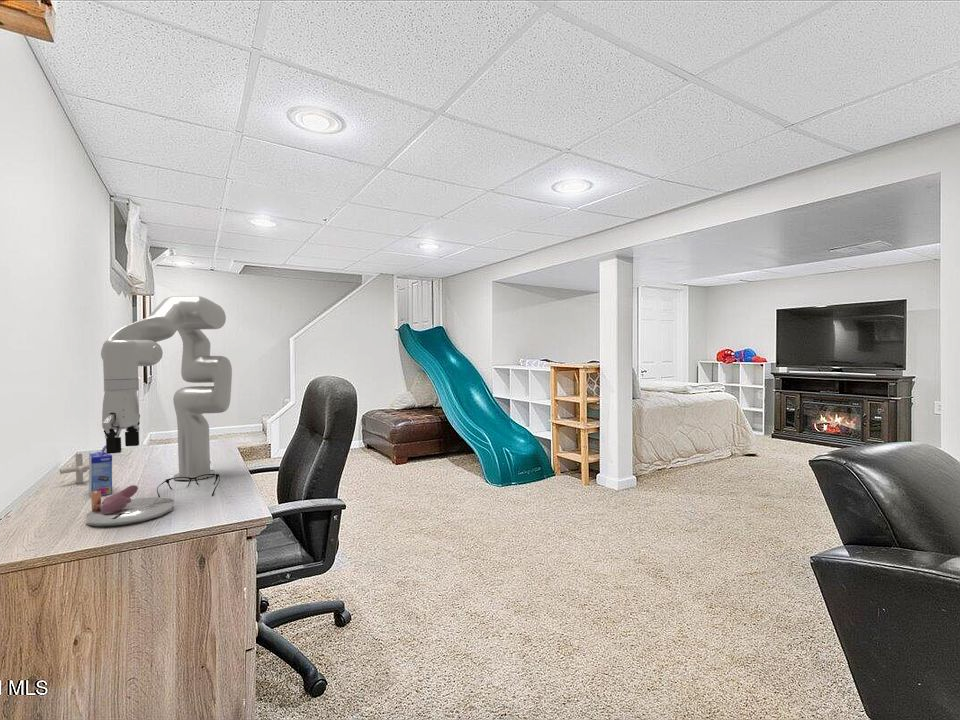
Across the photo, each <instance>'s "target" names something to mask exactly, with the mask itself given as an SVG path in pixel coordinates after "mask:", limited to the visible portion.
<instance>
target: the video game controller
mask: <svg viewBox="0 0 960 720" xmlns="http://www.w3.org/2000/svg"><path fill="white" fill-rule="evenodd" d="M138 490H139V487H138V485H133V484H132V485H129V486H127V487H126V488H124V489H123V490H120V491H118V492H115V493H114V494H113V493H112V494H111V495H109V496H107V497H105V498H104V499H103V500H102V501H101V509H100V510H101V513H102V514H109V513H112V512H115V511H117V510H119V509H123V508H125V507H127V504H128V503H130V502H131V497H132V496H134V495H135V494H136V493H137V491H138Z"/></svg>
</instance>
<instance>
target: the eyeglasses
mask: <svg viewBox="0 0 960 720" xmlns="http://www.w3.org/2000/svg"><path fill="white" fill-rule="evenodd" d="M205 475H213V476H215V481H214V483H213V484H214V485H215V484H216V485H215V487H214V489H213V491H212V493H211V497H213V496H214V495H215V492H216V489H217V486H218V485H219V483H220V481H221V474H220V473H215V474H205ZM205 475H201V476H205ZM201 476H197V477H193V478H190V477H175V478H174V477H171V478H166V479H165V480H164V481H162V482H161V484H159V485H158V486H157V488H156V493H157V497H161V495H160V493H159V491H158V489H159V487H161V486H162V485H163V484H165V483H166V484H167V486H168V487H169V489H170V490H173V488H172V486H171V485H170V481H171V480H174V479H176V478H188V479H190V481H188V482H189V483H188V485H187V486H188V487H189V486H190V485H191V483H192V481H193V480H192V479H195V480H194V482H195V484H196V485H197V486H198V485H200V484H199V483H198V480H196V479H197V478H198V477H201ZM217 481H218V482H217ZM216 482H217V483H216Z"/></svg>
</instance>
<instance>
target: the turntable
mask: <svg viewBox="0 0 960 720" xmlns="http://www.w3.org/2000/svg"><path fill="white" fill-rule="evenodd" d="M90 497H91V498H90V499H91V500H90V501H91V510H89V511H88V513H86V515H85V522H86V524H87V525H89V526H92V527H93V526H94V527H115V526H125V525H131V524H134V523H140V522H145V521H149V520H153V519H155V518H158V517H161V516H164V515H166V514H168V513H170V512H172V511H173V509H174V507H175V505H174V504H175V502H174V500H173V499H171V498H169V497H163V496H160V497H159V496H155V497H154V496H153V497H140V498H134V499H133V498H132V499H131V502H130V503H128V504H127V507H125V508H123V509H119V510H117V511H115V512H112V513H109V514H102V513H101V510H100V509H101V504H102V495H101V491H100V490H98V491H93V492H91V495H90Z"/></svg>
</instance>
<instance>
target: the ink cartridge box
mask: <svg viewBox="0 0 960 720" xmlns="http://www.w3.org/2000/svg"><path fill="white" fill-rule="evenodd" d="M88 464H89V469H88V491H89V495H90V496H91V492H93V491H98V490H100V491H101V496H106V495H109V496H110V495H113V455H112V453H109V454H108V453H106V444H105V445H104V446H103V447H102V449H101V451H97V452H90V453H88Z"/></svg>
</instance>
